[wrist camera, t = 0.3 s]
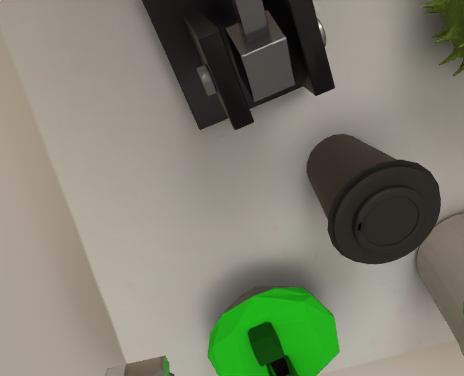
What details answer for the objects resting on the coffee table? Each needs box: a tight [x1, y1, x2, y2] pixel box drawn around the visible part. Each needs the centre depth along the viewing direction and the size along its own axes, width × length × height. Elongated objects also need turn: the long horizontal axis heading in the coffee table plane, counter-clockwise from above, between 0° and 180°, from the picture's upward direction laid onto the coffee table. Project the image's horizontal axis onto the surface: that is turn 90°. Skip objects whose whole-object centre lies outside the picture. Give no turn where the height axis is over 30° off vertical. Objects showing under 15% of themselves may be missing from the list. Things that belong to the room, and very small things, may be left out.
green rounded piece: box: [208, 287, 339, 376], centre depth 39 cm, size 12×12×11 cm
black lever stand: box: [142, 0, 335, 130], centre depth 25 cm, size 12×9×14 cm
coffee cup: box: [307, 134, 441, 264], centre depth 33 cm, size 8×8×10 cm
